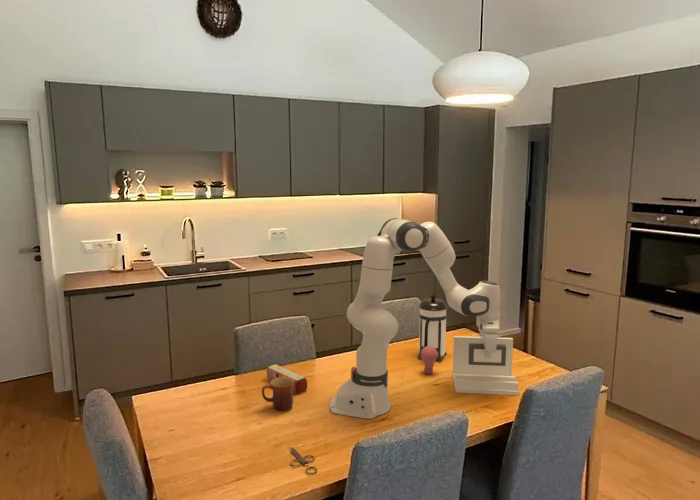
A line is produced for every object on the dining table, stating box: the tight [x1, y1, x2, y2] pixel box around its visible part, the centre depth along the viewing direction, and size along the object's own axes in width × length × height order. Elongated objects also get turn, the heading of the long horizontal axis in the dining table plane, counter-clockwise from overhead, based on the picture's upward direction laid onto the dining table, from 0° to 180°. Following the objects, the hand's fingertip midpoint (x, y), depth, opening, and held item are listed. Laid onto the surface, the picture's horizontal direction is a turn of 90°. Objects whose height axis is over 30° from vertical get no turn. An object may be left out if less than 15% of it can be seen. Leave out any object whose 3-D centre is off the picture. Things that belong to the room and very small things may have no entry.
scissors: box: [287, 444, 318, 475], centre depth 156 cm, size 8×18×2 cm, turn 31°
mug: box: [261, 377, 294, 412], centre depth 188 cm, size 12×9×10 cm
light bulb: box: [420, 346, 438, 374], centre depth 220 cm, size 7×7×12 cm
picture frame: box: [468, 343, 506, 366], centre depth 202 cm, size 14×3×8 cm, turn 83°
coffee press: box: [417, 294, 448, 363], centre depth 235 cm, size 17×16×30 cm
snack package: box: [266, 363, 308, 395], centre depth 209 cm, size 21×7×7 cm, turn 42°
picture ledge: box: [452, 335, 520, 396], centre depth 207 cm, size 24×17×18 cm
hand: (486, 355), depth 202 cm, fingers closed on picture frame, 3 cm apart
